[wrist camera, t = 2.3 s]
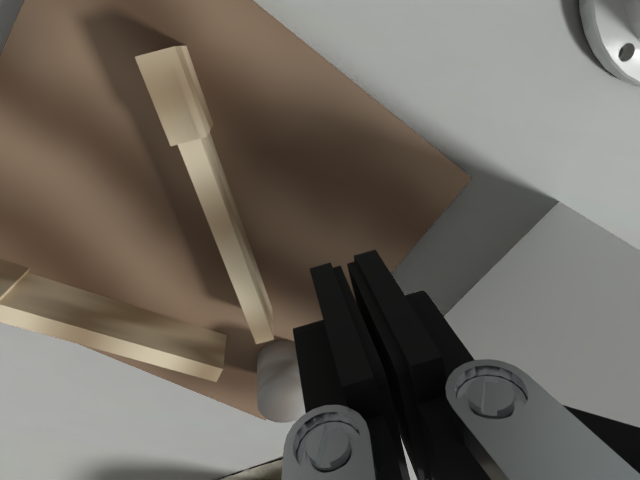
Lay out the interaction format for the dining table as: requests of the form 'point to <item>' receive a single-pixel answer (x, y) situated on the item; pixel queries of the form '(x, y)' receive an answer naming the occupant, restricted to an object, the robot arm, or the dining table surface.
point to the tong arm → (206, 175)
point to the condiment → (260, 472)
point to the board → (174, 180)
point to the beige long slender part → (144, 336)
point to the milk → (563, 314)
